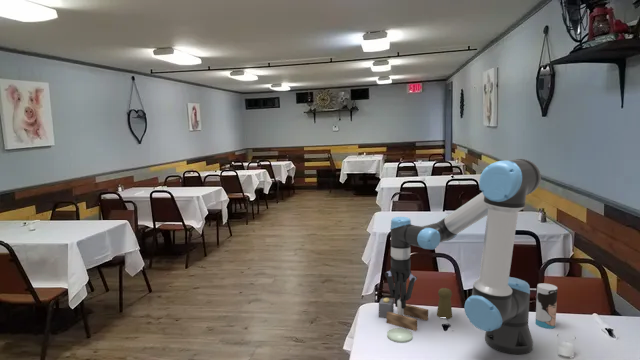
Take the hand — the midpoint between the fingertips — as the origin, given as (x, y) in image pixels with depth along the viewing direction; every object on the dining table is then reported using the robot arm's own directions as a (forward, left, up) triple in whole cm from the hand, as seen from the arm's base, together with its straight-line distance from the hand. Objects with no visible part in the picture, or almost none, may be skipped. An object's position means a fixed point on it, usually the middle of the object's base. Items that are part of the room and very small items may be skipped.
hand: (400, 315), depth 167 cm
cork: (-13, -13, -2) cm, 18 cm away
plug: (+6, 0, -2) cm, 6 cm away
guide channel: (-3, 0, -2) cm, 3 cm away
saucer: (-6, +13, -2) cm, 14 cm away
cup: (-47, -27, -2) cm, 54 cm away
